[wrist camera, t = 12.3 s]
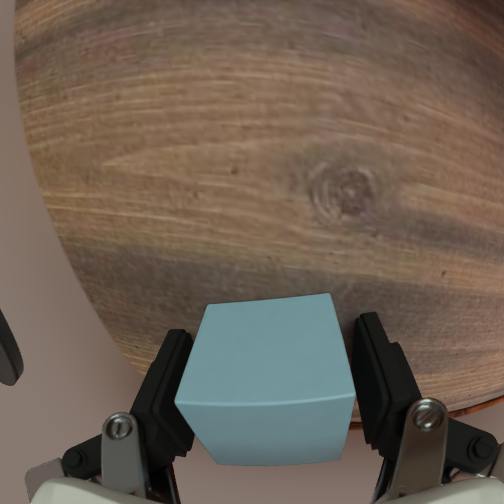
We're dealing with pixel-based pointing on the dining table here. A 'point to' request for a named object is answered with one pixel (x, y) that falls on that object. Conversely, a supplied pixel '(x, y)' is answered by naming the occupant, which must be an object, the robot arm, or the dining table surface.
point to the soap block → (269, 382)
